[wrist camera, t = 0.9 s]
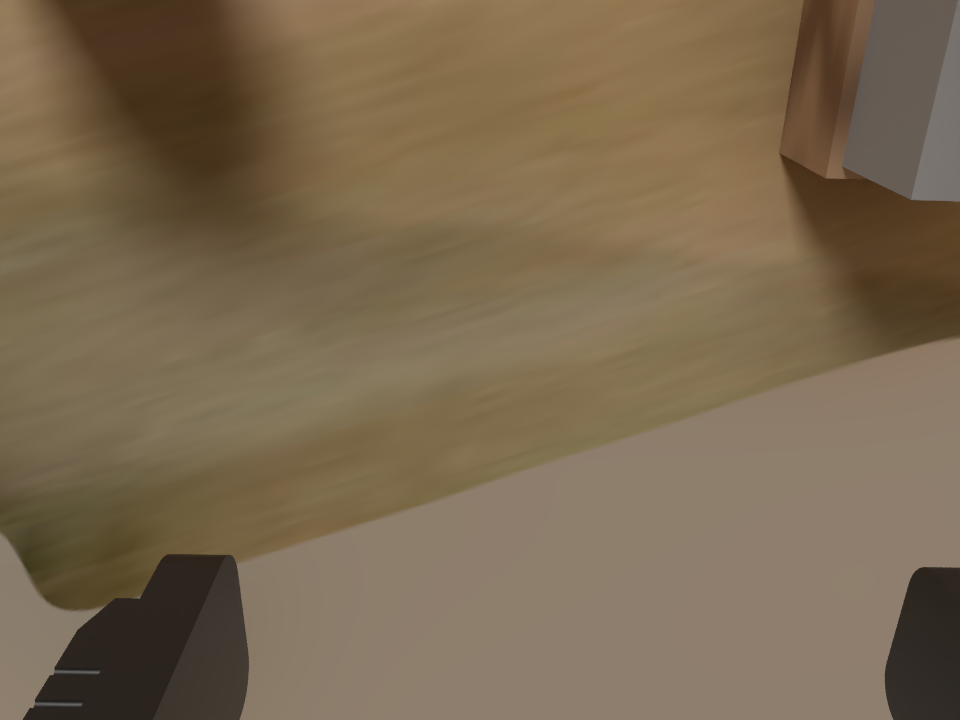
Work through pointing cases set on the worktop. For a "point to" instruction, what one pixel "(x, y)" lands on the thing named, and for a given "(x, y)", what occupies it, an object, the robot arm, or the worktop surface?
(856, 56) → the tower base
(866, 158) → the grey cube
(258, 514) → the worktop surface
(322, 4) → the worktop surface
